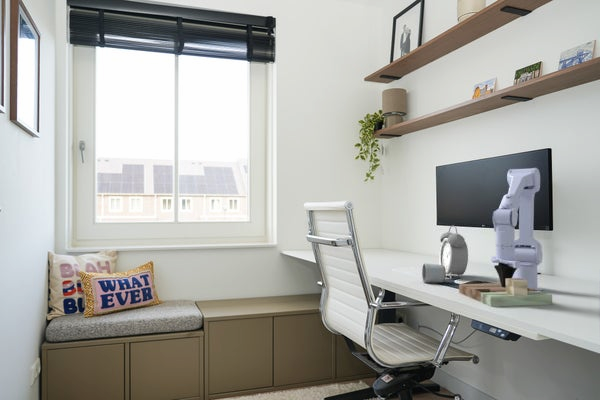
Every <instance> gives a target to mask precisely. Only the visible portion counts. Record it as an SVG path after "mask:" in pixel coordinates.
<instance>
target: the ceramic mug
mask: <svg viewBox="0 0 600 400" xmlns="http://www.w3.org/2000/svg"><path fill="white" fill-rule="evenodd" d="M421 271H422V272H421V275H422V278H421V279H422V282H423V283H425V284H429V283H430V284H442V283H444V282H445V281H446V277H447V274H446V270H445V267H444V266H443V265H440V264H439V263H426V262H425V263H423V265H422V269H421Z"/></svg>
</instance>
